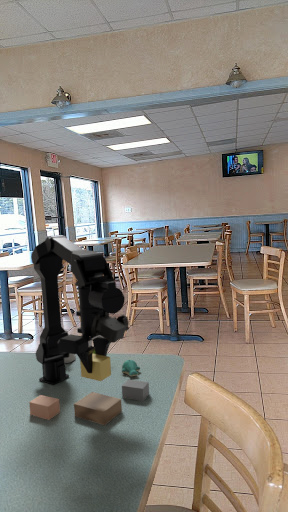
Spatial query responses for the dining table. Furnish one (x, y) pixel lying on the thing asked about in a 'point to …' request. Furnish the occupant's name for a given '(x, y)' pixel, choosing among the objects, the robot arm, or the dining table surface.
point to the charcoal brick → (135, 390)
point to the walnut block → (98, 408)
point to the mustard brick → (98, 368)
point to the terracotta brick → (44, 407)
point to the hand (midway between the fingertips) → (95, 369)
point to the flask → (71, 356)
